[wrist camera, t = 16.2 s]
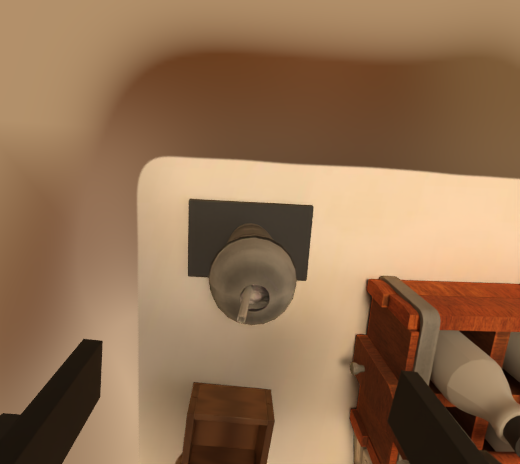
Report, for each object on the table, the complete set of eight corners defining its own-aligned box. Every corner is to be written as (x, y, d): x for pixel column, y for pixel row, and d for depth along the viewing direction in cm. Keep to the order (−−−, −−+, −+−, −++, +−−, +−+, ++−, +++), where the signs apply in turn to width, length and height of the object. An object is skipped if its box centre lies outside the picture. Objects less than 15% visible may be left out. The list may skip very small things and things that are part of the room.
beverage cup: (254, 284, 40) (265, 407, 21) (205, 247, 39) (168, 341, 19) (294, 237, 39) (345, 321, 20) (245, 197, 38) (248, 245, 18)
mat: (188, 274, 40) (187, 276, 40) (189, 198, 38) (188, 199, 38) (305, 278, 41) (306, 281, 41) (312, 205, 39) (313, 206, 38)
